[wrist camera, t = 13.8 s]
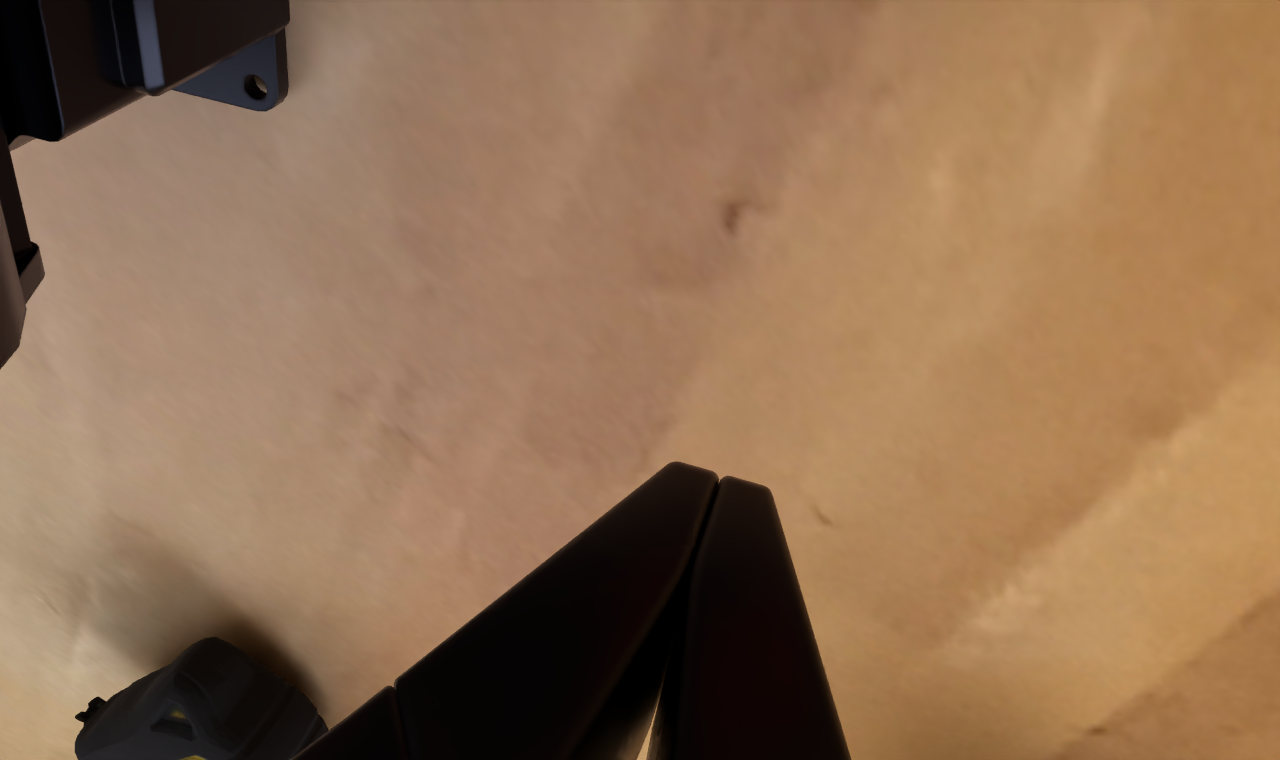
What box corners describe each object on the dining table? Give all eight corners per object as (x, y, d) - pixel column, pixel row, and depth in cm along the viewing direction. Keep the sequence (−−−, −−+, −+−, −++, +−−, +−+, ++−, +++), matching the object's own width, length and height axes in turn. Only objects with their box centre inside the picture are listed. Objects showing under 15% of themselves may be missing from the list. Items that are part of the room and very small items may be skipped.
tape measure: (236, 597, 32) (158, 694, 29) (392, 741, 34) (334, 847, 31) (123, 660, 35) (43, 753, 32) (270, 787, 37) (208, 885, 34)
